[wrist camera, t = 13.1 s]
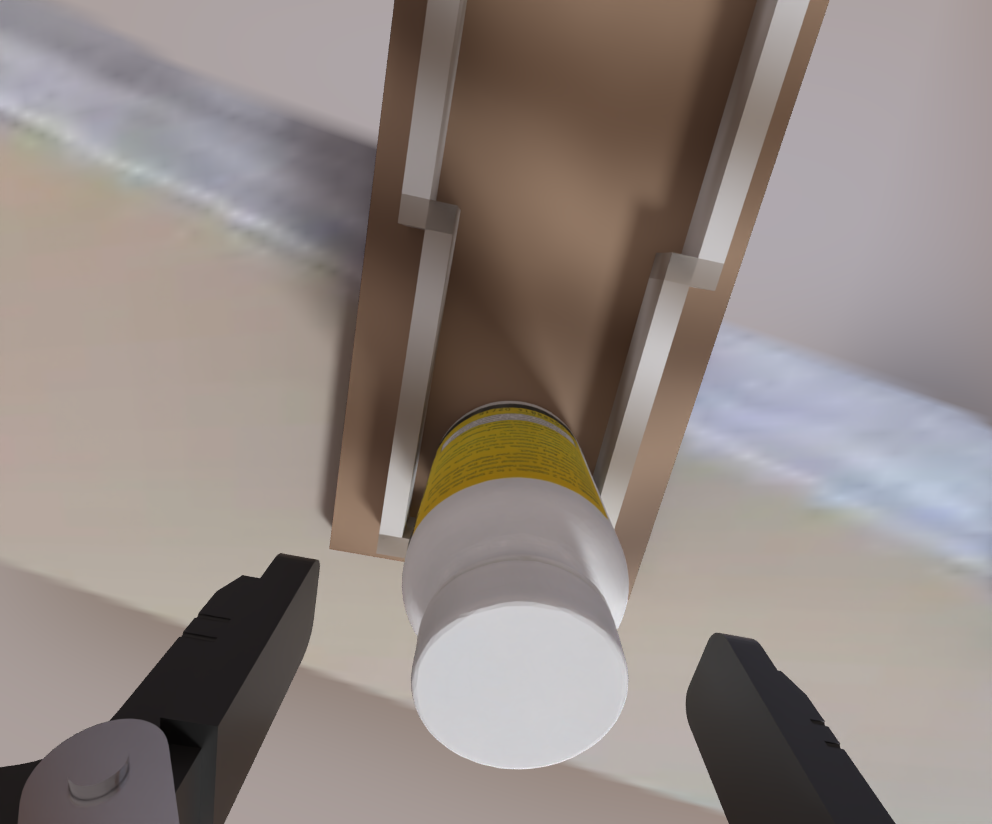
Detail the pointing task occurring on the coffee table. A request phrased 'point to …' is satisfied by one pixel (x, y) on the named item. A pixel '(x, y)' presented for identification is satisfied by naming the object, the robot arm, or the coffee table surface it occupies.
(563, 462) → the supplement bottle
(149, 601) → the coffee table surface
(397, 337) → the brown rectangular tray
